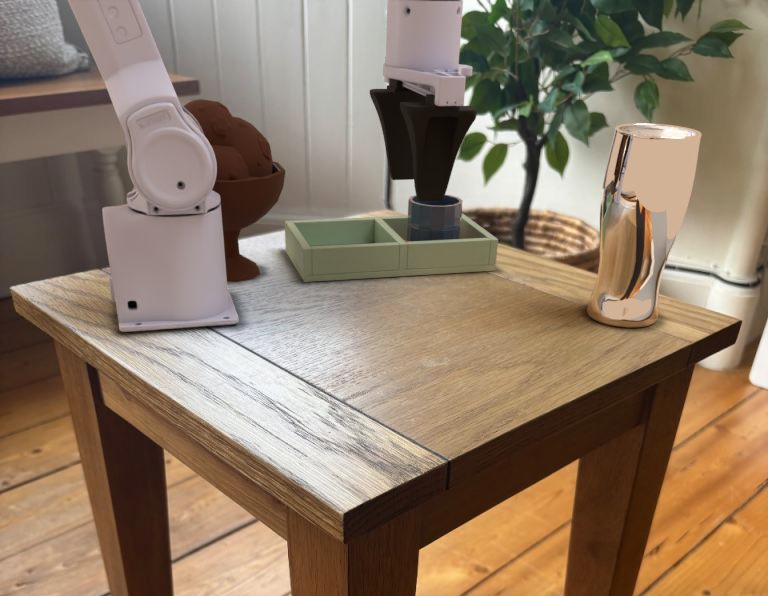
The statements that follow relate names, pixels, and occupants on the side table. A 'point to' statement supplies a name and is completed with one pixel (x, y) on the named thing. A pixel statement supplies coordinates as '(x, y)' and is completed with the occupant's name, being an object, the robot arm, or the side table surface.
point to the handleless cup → (434, 219)
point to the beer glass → (641, 218)
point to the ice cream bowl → (239, 178)
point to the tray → (383, 249)
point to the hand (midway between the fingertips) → (416, 189)
